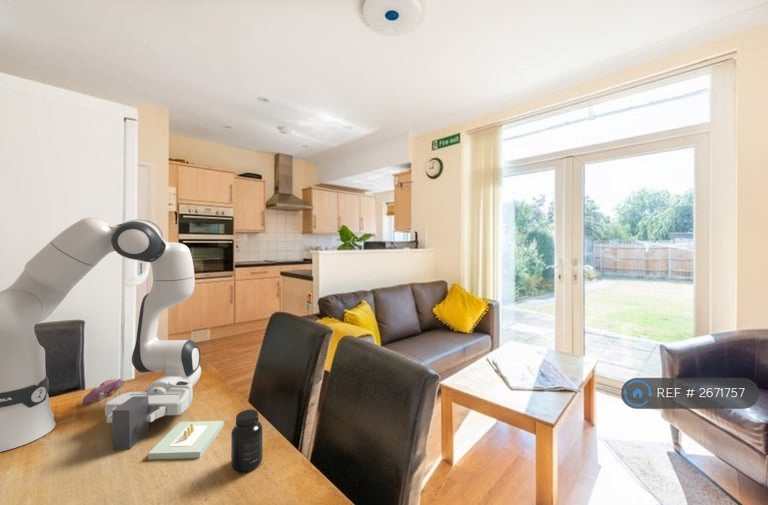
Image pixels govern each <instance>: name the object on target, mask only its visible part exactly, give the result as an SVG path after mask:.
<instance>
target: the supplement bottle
mask: <svg viewBox="0 0 768 505" xmlns="http://www.w3.org/2000/svg"><path fill="white" fill-rule="evenodd" d="M230 436H231V437H230V438H231V439H230V443H231V444H230V447H231V448H230V451H231V452H230V454H231V456H230V458H231V459H230V460H231V461H230V462H231V464H230V465H231V469H232V470H233V471H234V472H235V473H237V474H247V473H249V472H252V471H254V470H256V468H258V467H259V466H260V465H261V463H262V461H263V424H262V422H260V420H259V412H258V410H256V409H252V408H251V409H245V410H242V411H240V412H239V413H237V415H236V417H235V425H234V426H233V428H232V430H231V433H230Z"/></svg>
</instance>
